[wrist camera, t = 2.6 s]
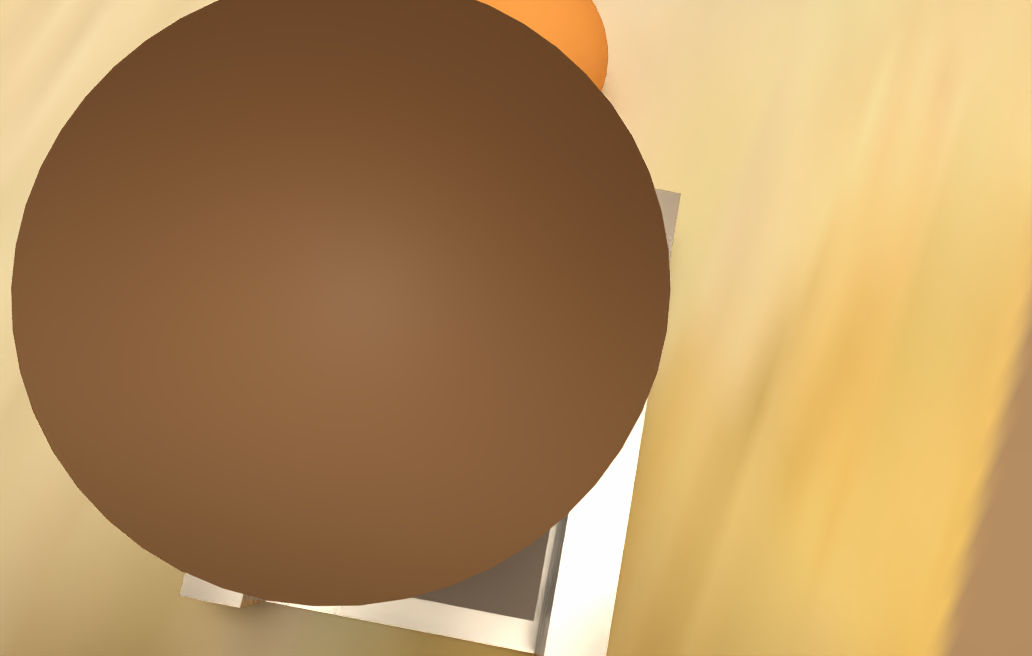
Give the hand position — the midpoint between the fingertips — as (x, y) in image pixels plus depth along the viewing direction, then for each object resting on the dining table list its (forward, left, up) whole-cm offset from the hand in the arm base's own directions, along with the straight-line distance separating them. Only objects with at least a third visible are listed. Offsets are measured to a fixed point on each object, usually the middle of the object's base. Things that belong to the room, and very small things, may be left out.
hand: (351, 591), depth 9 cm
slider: (+1, +1, -10) cm, 10 cm away
